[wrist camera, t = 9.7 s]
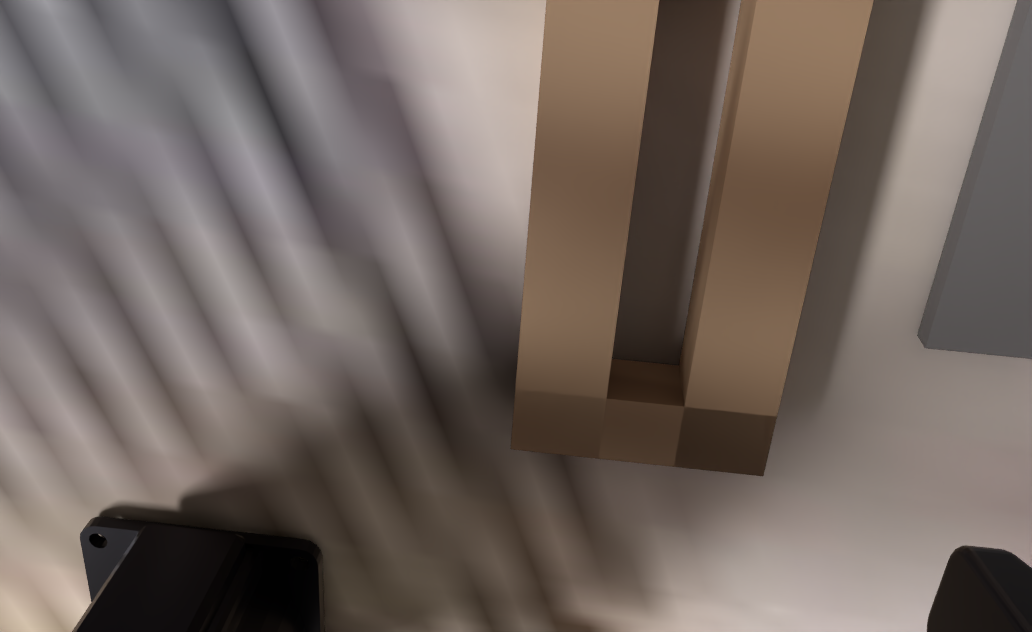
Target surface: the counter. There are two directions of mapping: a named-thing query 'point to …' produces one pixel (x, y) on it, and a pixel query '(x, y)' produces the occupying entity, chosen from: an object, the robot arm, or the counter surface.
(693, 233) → the counter surface
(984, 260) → the mat
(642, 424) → the stand
